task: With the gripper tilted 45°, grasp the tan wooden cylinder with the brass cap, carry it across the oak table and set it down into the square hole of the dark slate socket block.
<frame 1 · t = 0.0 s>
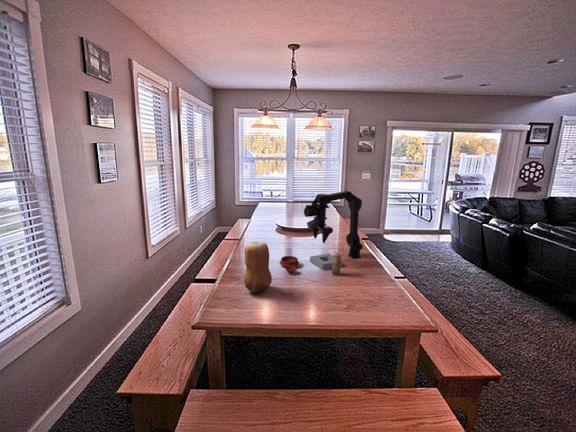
hand: (319, 240, 179), 15 cm above the table, fingers open, 9 cm apart
socket block: (325, 264, 181), on the table
butternut squash: (257, 291, 145), on the table
tan wooden cylinder: (335, 274, 166), on the table
pottery: (289, 268, 173), on the table
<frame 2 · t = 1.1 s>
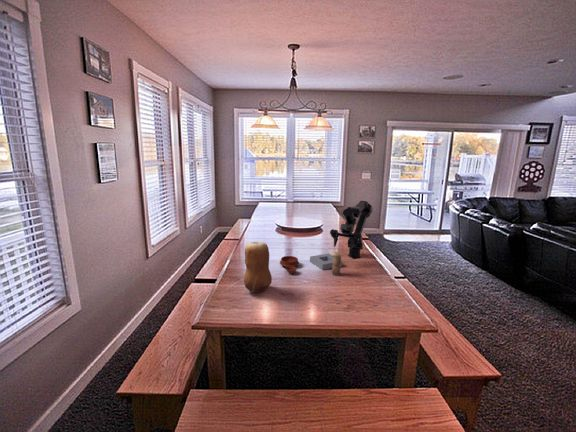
hand: (341, 248, 170), 13 cm above the table, fingers open, 9 cm apart
nothing on the table moved.
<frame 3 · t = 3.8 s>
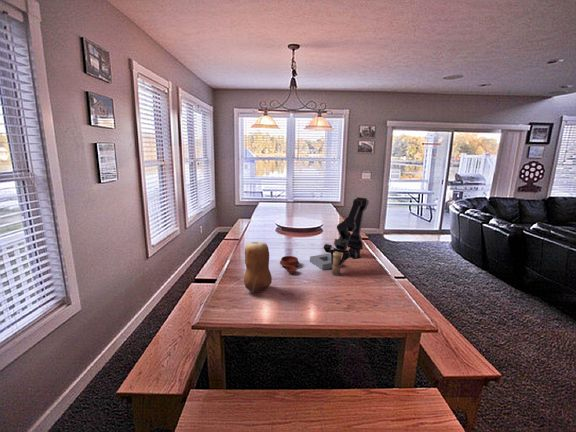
hand: (335, 264, 164), 7 cm above the table, fingers closed on tan wooden cylinder, 4 cm apart
tan wooden cylinder: (335, 274, 166), on the table, touching gripper
everything else where it was.
when the fingers open (8 cm above the table, at t = 7.8 s): tan wooden cylinder drops 2 cm, resting in socket block.
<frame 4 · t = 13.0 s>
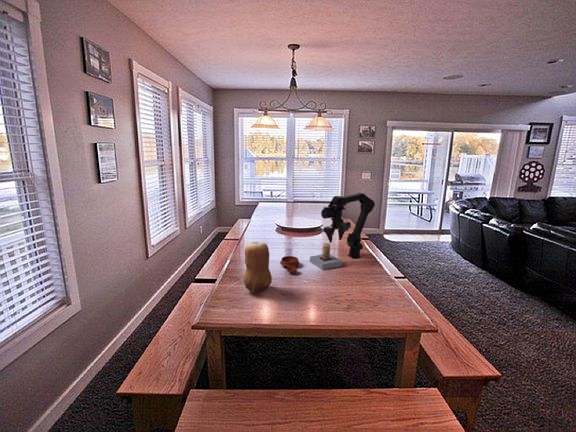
hand: (335, 241, 183), 13 cm above the table, fingers open, 9 cm apart
tan wooden cylinder: (325, 264, 181), resting in socket block
everything else where it was.
at the end: tan wooden cylinder 0.0 cm off-centre on the socket block, point 0.0 cm above the socket block's base; tan wooden cylinder tilted 0°; the gripper is holding nothing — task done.
